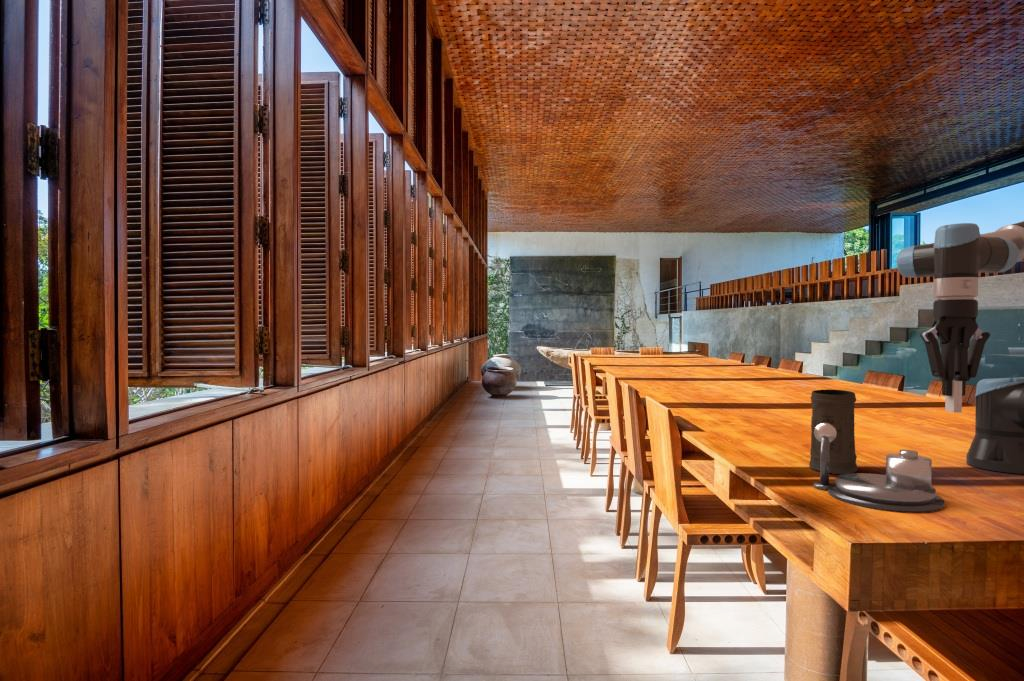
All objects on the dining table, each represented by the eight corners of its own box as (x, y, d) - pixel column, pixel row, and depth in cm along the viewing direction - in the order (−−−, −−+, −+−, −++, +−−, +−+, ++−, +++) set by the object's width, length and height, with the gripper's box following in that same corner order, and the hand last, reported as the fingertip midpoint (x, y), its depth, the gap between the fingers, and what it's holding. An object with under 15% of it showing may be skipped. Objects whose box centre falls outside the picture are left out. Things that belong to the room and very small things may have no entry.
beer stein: (856, 477, 144) (857, 394, 143) (806, 471, 149) (807, 391, 149) (858, 465, 157) (859, 388, 156) (813, 460, 163) (813, 386, 162)
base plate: (904, 484, 137) (904, 481, 137) (970, 513, 116) (970, 509, 116) (810, 483, 138) (810, 480, 138) (859, 512, 117) (859, 508, 117)
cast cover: (915, 479, 131) (916, 447, 131) (940, 489, 123) (940, 455, 123) (878, 479, 131) (878, 447, 131) (899, 489, 123) (900, 455, 123)
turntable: (909, 511, 115) (909, 479, 115) (818, 489, 130) (818, 461, 130) (959, 494, 126) (960, 465, 126) (870, 476, 142) (870, 450, 141)
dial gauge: (815, 484, 138) (816, 420, 137) (837, 487, 135) (838, 422, 135) (811, 488, 134) (812, 423, 134) (833, 491, 132) (834, 425, 131)
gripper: (934, 298, 122) (932, 413, 123) (1001, 298, 122) (999, 414, 122) (911, 299, 130) (910, 408, 130) (974, 299, 129) (972, 409, 130)
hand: (953, 411), depth 126 cm, fingers closed
